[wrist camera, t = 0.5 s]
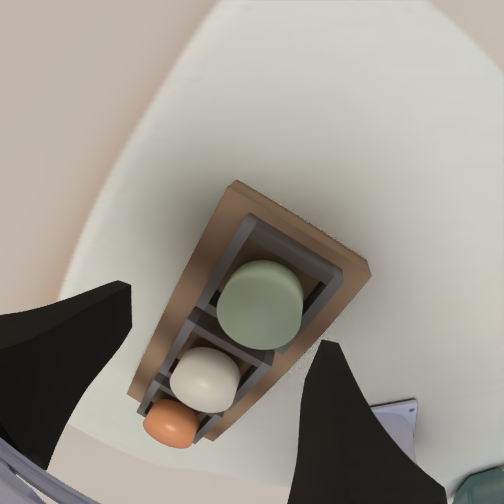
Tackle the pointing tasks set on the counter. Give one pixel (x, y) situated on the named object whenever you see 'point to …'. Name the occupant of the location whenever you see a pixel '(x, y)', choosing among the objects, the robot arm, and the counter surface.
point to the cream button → (205, 380)
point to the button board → (215, 280)
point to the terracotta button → (171, 423)
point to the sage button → (261, 305)
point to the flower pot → (482, 488)
